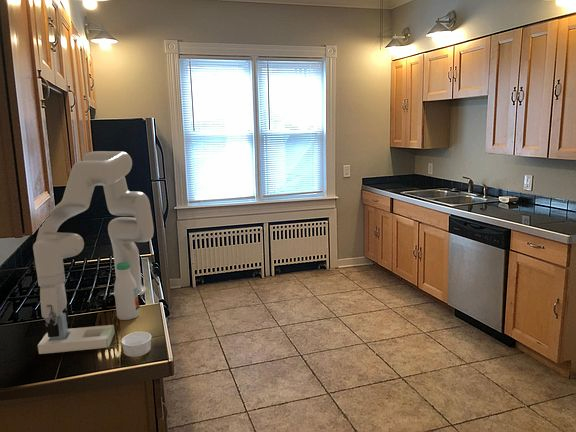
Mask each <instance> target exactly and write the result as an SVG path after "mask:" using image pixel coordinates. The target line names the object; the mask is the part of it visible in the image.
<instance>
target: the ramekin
mask: <svg viewBox="0 0 576 432" xmlns="http://www.w3.org/2000/svg"><path fill="white" fill-rule="evenodd" d="M121 345H122V350H123V353H124V355H125V356H127V357H130V358H137V357H141V356H144V355H146V354H147V353H149V352H150V351H151V348H152V335H151V333H150V332H147V331H135V332H131V333H129V334H126V335H125V336H122V338H121Z"/></svg>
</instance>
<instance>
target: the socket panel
mask: <svg viewBox="0 0 576 432" xmlns="http://www.w3.org/2000/svg"><path fill="white" fill-rule="evenodd" d="M68 335H69V336H68V337H67V339H64V340H53V341H51V337H48V333H47V332H46V333H45V334H44V335H43V337H42V339H41V340H40V341H39V343H38V344H37V351H38V354H39V355H42V354H43V355H45V354H55V353H65V352H75V351H85V350H97V349H104V348H106V349H107V348H109V347H110V345H111V343H112V341H113V339H114V336H115V324H107V325H95V326H94V325H93V326H85V327H75V328H73V327H72V328H68Z"/></svg>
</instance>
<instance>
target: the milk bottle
mask: <svg viewBox="0 0 576 432" xmlns="http://www.w3.org/2000/svg"><path fill="white" fill-rule="evenodd" d="M116 268H117V271H118V274H117V278H116V277H115V280H114V291H115V296H114V299H115V300H114V301H115V310H116V317H117V319H118V320H121V321H130V320H134V319H136V318H138V317H139V315H140V304H139V296H138V293H137V286H136V282H135V280H134V278H133V276H132V275H131V272H130V263H129V262H121V263H118V264H117V265H116ZM114 291H113V292H114Z"/></svg>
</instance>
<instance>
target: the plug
mask: <svg viewBox="0 0 576 432" xmlns="http://www.w3.org/2000/svg"><path fill="white" fill-rule="evenodd" d="M51 315H55V314H51ZM51 319H52V320H53V321H54V318H51ZM57 324H58V327H59V334H60V335H59V336H58V337H51V341H53V340H64V339H67V337H68V336H69V335H68V329H69V328H68V323H67V320H66V313H61V314H60V315H59V316H58V317H57Z"/></svg>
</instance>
